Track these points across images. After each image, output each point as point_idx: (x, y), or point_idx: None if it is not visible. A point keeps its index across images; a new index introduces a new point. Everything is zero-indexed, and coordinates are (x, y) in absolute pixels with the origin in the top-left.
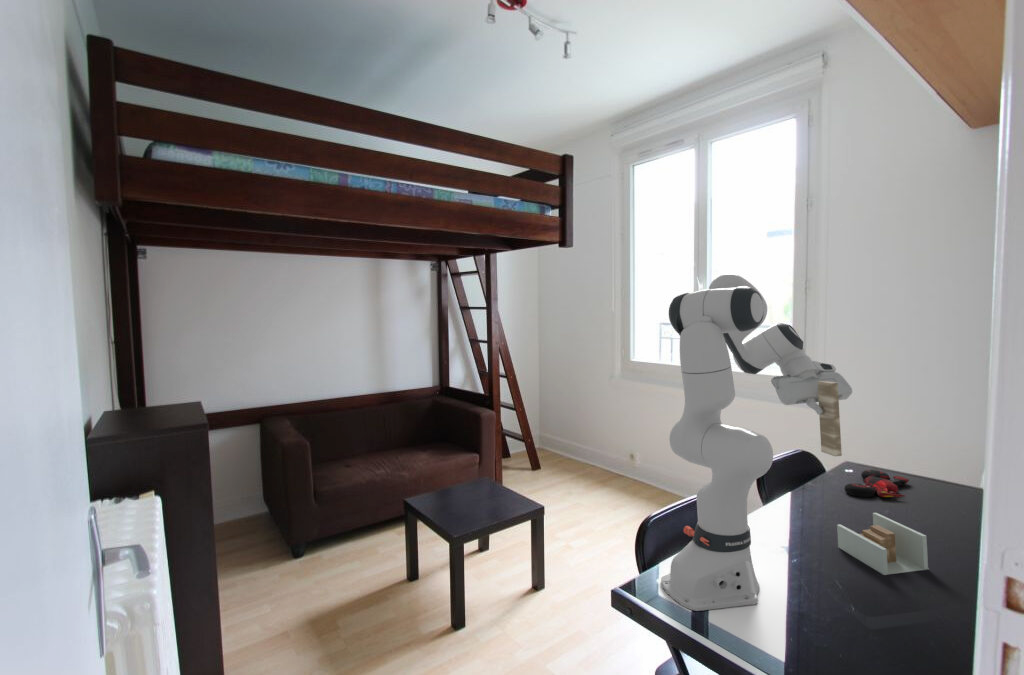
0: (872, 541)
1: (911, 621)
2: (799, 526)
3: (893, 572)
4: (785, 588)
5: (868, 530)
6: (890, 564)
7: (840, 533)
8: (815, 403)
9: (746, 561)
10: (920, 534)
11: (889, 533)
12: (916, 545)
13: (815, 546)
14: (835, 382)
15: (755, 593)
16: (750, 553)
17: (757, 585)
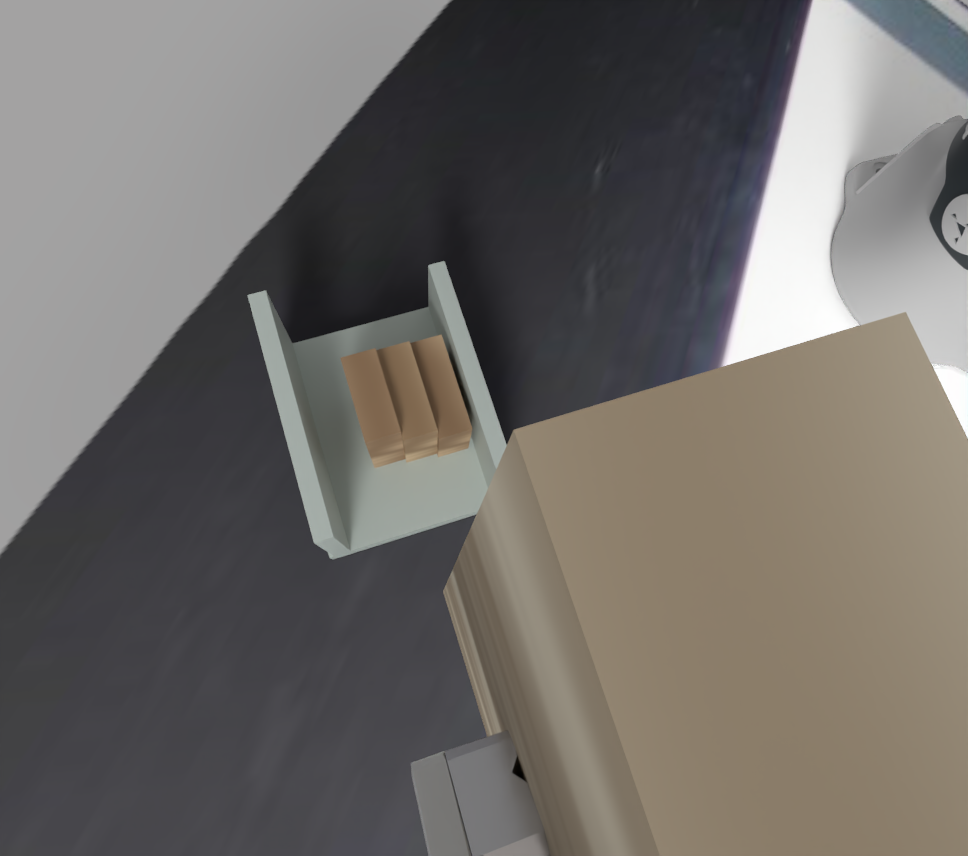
0: (431, 366)
1: (475, 122)
2: None
3: (404, 320)
4: (753, 255)
5: (413, 428)
6: None
7: None
8: None
9: (942, 125)
10: (263, 306)
11: (361, 357)
12: (284, 339)
13: None
14: (576, 597)
15: (855, 189)
16: (921, 190)
17: (846, 227)
